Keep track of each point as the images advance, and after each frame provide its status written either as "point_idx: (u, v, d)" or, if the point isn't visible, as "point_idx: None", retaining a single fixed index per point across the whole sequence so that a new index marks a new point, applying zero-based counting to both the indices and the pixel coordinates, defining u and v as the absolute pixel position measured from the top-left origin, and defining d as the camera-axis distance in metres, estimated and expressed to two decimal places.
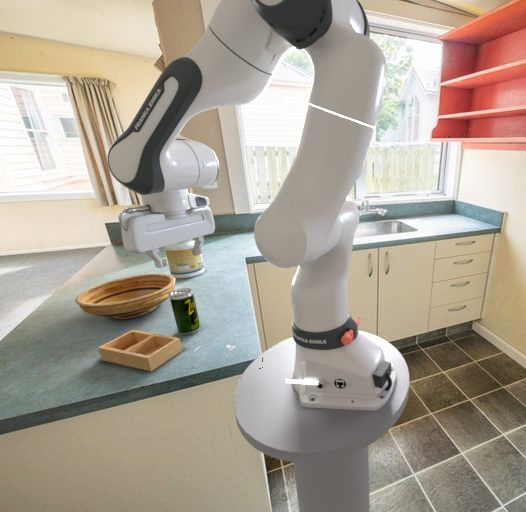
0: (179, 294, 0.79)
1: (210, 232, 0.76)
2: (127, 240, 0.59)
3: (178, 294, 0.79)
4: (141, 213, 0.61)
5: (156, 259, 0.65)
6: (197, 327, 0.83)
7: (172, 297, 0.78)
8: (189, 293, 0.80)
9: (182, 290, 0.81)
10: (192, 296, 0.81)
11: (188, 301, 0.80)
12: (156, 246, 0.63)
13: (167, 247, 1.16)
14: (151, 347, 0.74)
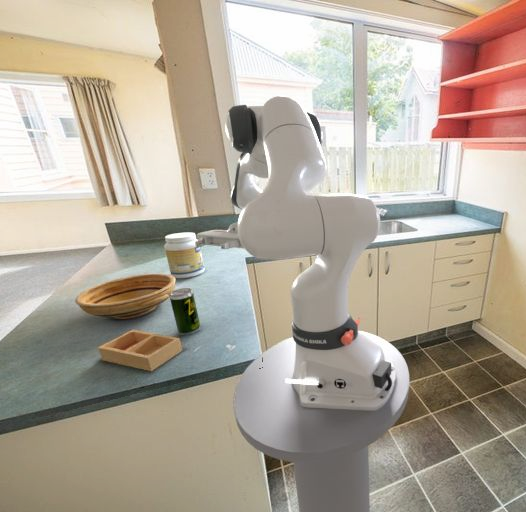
0: (179, 294, 0.79)
1: None
2: None
3: (178, 294, 0.79)
4: None
5: None
6: (197, 327, 0.83)
7: (172, 297, 0.78)
8: (189, 293, 0.80)
9: (182, 290, 0.81)
10: (192, 296, 0.81)
11: (188, 301, 0.80)
12: (206, 234, 0.94)
13: (167, 247, 1.16)
14: (151, 347, 0.74)
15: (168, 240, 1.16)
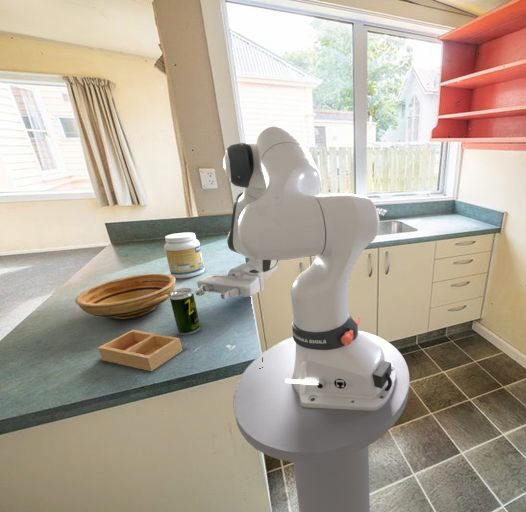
0: (179, 294, 0.79)
1: (243, 286, 0.92)
2: None
3: (178, 294, 0.79)
4: None
5: None
6: (197, 327, 0.83)
7: (172, 297, 0.78)
8: (189, 293, 0.80)
9: (182, 290, 0.81)
10: (192, 296, 0.81)
11: (188, 301, 0.80)
12: (206, 281, 0.95)
13: (167, 247, 1.16)
14: (151, 347, 0.74)
15: (168, 240, 1.16)
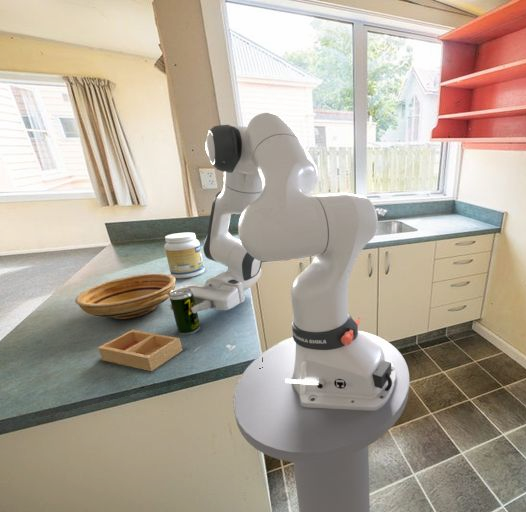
0: (179, 294, 0.79)
1: (220, 298, 0.83)
2: None
3: (178, 294, 0.79)
4: None
5: None
6: (197, 327, 0.83)
7: (172, 297, 0.78)
8: (189, 293, 0.80)
9: (182, 290, 0.81)
10: (192, 296, 0.81)
11: (188, 301, 0.80)
12: None
13: (167, 247, 1.16)
14: (151, 347, 0.74)
15: (168, 240, 1.16)
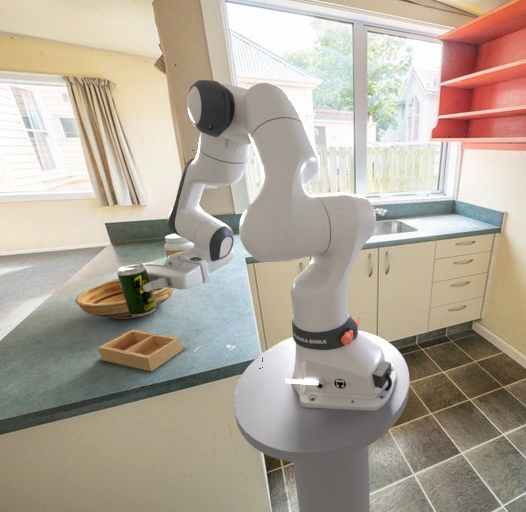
0: (128, 269, 0.69)
1: (177, 276, 0.73)
2: None
3: (127, 269, 0.69)
4: None
5: None
6: (152, 308, 0.74)
7: (119, 273, 0.69)
8: (140, 269, 0.70)
9: (133, 266, 0.71)
10: (144, 272, 0.71)
11: (139, 278, 0.70)
12: None
13: (167, 247, 1.16)
14: (151, 347, 0.74)
15: (168, 240, 1.16)
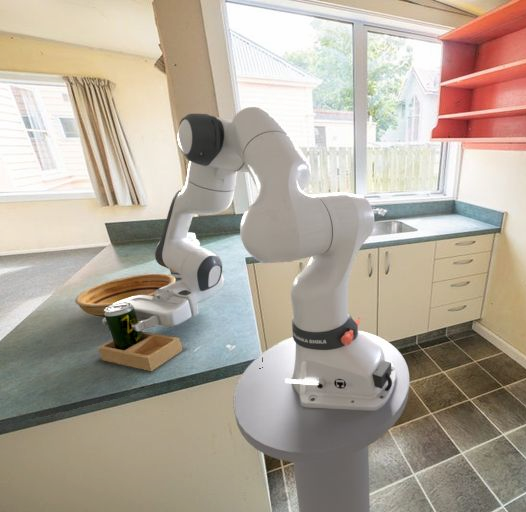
0: (115, 310, 0.69)
1: (164, 313, 0.73)
2: None
3: (114, 310, 0.69)
4: None
5: None
6: None
7: (106, 313, 0.68)
8: (127, 308, 0.70)
9: (120, 305, 0.71)
10: (132, 312, 0.71)
11: (127, 318, 0.70)
12: None
13: None
14: (151, 347, 0.74)
15: None
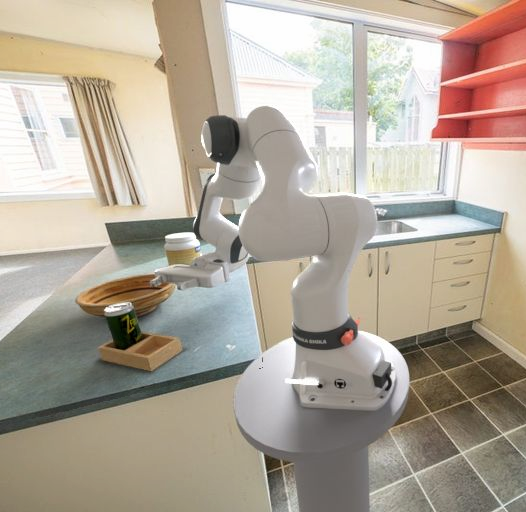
0: (115, 310, 0.69)
1: (203, 276, 0.83)
2: None
3: (114, 310, 0.69)
4: None
5: None
6: None
7: (106, 313, 0.68)
8: (127, 308, 0.70)
9: (120, 305, 0.71)
10: (132, 312, 0.71)
11: (127, 318, 0.70)
12: (164, 271, 0.87)
13: (167, 247, 1.16)
14: (151, 347, 0.74)
15: (168, 240, 1.16)
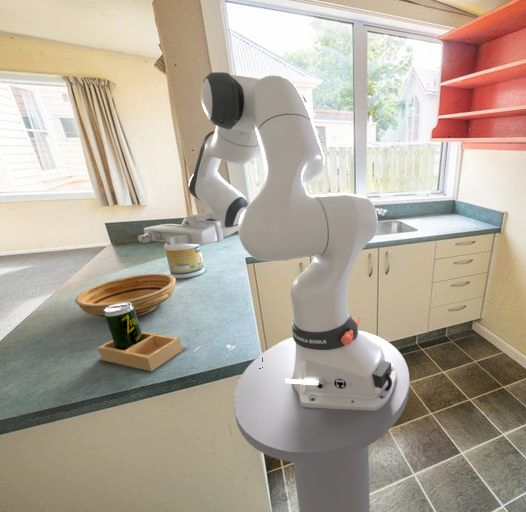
0: (115, 310, 0.69)
1: (194, 231, 0.79)
2: None
3: (114, 310, 0.69)
4: None
5: None
6: None
7: (106, 313, 0.68)
8: (127, 308, 0.70)
9: (120, 305, 0.71)
10: (132, 312, 0.71)
11: (127, 318, 0.70)
12: (154, 228, 0.83)
13: (167, 247, 1.16)
14: (151, 347, 0.74)
15: None
